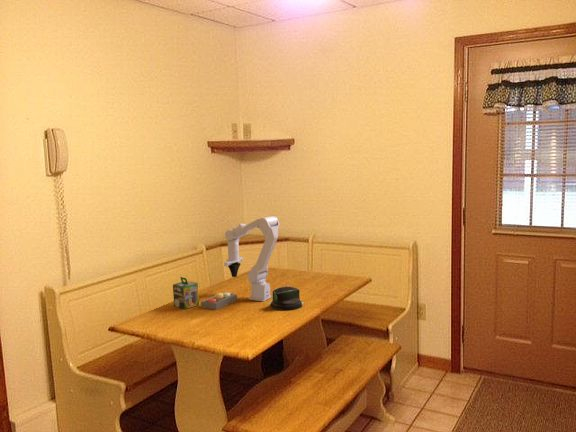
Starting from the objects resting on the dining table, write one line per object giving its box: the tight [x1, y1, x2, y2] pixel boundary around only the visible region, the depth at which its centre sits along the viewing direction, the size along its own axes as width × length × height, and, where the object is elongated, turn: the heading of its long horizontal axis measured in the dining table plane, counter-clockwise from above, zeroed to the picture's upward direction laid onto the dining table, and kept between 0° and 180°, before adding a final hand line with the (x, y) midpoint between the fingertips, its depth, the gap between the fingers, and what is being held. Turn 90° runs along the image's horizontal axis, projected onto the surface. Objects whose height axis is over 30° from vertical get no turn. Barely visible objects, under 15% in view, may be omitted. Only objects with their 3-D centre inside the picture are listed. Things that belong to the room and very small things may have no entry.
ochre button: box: [214, 292, 224, 300], centre depth 272 cm, size 4×4×3 cm
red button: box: [207, 297, 216, 303], centre depth 267 cm, size 4×4×3 cm
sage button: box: [223, 291, 231, 297], centre depth 277 cm, size 4×4×3 cm
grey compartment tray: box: [200, 291, 238, 311], centre depth 272 cm, size 9×18×3 cm, turn 151°
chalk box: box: [172, 276, 200, 310], centre depth 269 cm, size 9×9×15 cm
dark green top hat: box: [269, 285, 305, 312], centre depth 266 cm, size 20×20×9 cm
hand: (234, 276), depth 288 cm, fingers closed
